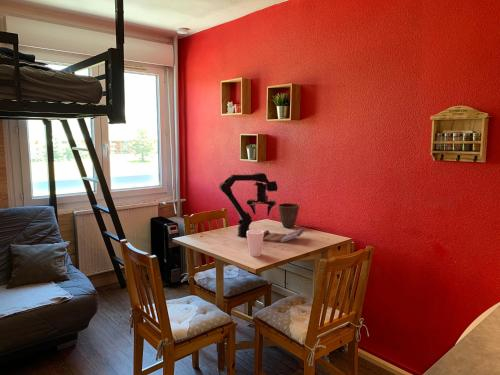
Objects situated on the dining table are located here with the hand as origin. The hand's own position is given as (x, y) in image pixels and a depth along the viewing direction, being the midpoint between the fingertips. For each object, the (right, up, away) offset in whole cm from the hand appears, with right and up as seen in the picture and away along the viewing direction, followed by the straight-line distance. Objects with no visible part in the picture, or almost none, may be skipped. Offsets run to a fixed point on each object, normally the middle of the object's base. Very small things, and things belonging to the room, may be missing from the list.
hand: (261, 215), depth 249 cm
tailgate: (+14, -13, -11) cm, 22 cm away
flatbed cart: (+6, -14, -8) cm, 18 cm away
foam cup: (-5, -19, -41) cm, 46 cm away
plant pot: (+20, -10, +23) cm, 32 cm away
